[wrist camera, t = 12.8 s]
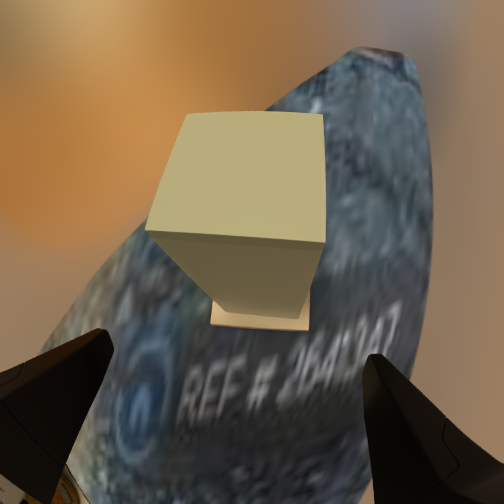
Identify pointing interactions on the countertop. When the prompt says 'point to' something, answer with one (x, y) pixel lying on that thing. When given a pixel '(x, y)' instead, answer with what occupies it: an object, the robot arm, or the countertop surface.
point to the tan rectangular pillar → (245, 208)
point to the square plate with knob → (261, 319)
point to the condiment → (64, 492)
